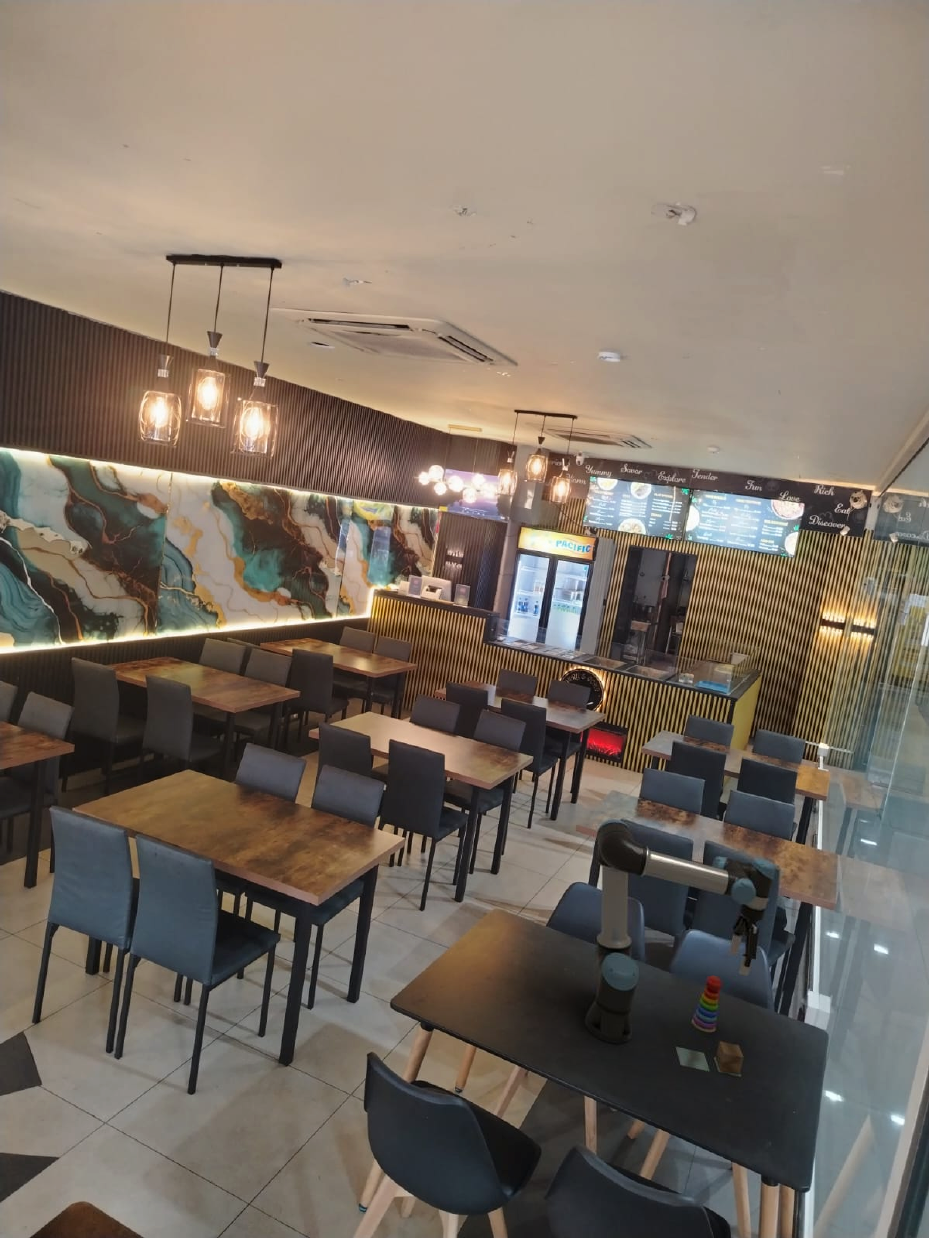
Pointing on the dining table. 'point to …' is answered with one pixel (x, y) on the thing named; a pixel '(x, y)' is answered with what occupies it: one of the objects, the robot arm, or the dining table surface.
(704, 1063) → the paired pale square pads
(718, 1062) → the walnut cube
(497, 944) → the dining table surface
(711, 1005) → the stacking toy
